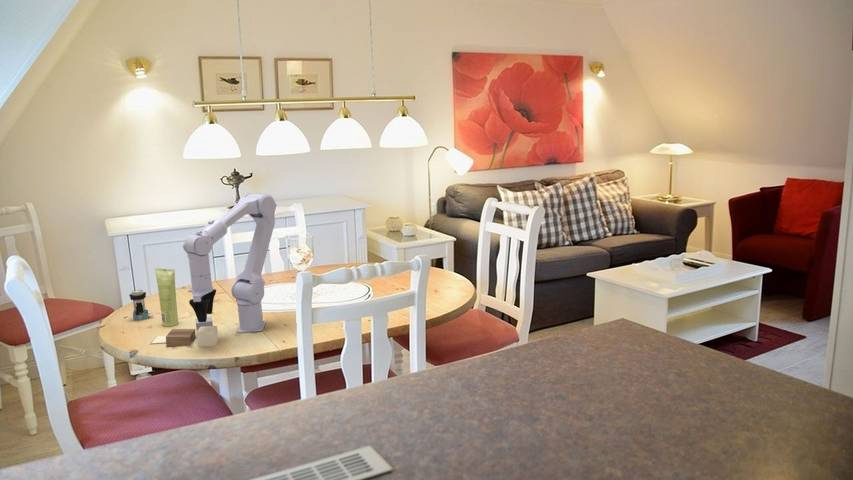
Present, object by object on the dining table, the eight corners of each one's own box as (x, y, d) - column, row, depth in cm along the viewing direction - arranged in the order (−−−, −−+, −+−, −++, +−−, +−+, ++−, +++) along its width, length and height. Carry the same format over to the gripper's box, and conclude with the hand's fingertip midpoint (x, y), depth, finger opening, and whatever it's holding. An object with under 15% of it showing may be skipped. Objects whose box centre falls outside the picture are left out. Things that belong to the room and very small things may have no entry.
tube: (179, 321, 227) (172, 265, 223) (181, 325, 223) (174, 268, 219) (161, 324, 225) (154, 268, 221) (163, 328, 220) (155, 271, 216)
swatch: (156, 337, 212) (156, 336, 212) (178, 335, 213) (178, 334, 213) (149, 345, 205) (149, 343, 205) (172, 343, 206) (172, 342, 206)
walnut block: (172, 337, 210) (172, 328, 209) (195, 338, 210) (195, 328, 210) (166, 346, 203) (165, 336, 202) (189, 346, 204) (189, 336, 203)
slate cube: (197, 333, 214) (195, 318, 213) (213, 331, 216) (211, 316, 215) (197, 338, 210) (195, 323, 209) (214, 336, 211) (212, 321, 210)
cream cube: (202, 342, 207) (200, 326, 206) (218, 340, 207) (216, 325, 206) (198, 347, 202) (196, 332, 201) (215, 346, 202) (213, 331, 201)
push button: (154, 315, 235) (150, 287, 233) (152, 319, 230) (148, 292, 228) (133, 317, 233) (130, 290, 231) (131, 322, 228) (127, 294, 226)
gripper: (193, 269, 206) (197, 311, 209) (180, 281, 192) (185, 326, 195) (216, 268, 207) (220, 309, 210) (205, 280, 193) (210, 324, 196)
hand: (205, 317), depth 203 cm, fingers open, 7 cm apart
